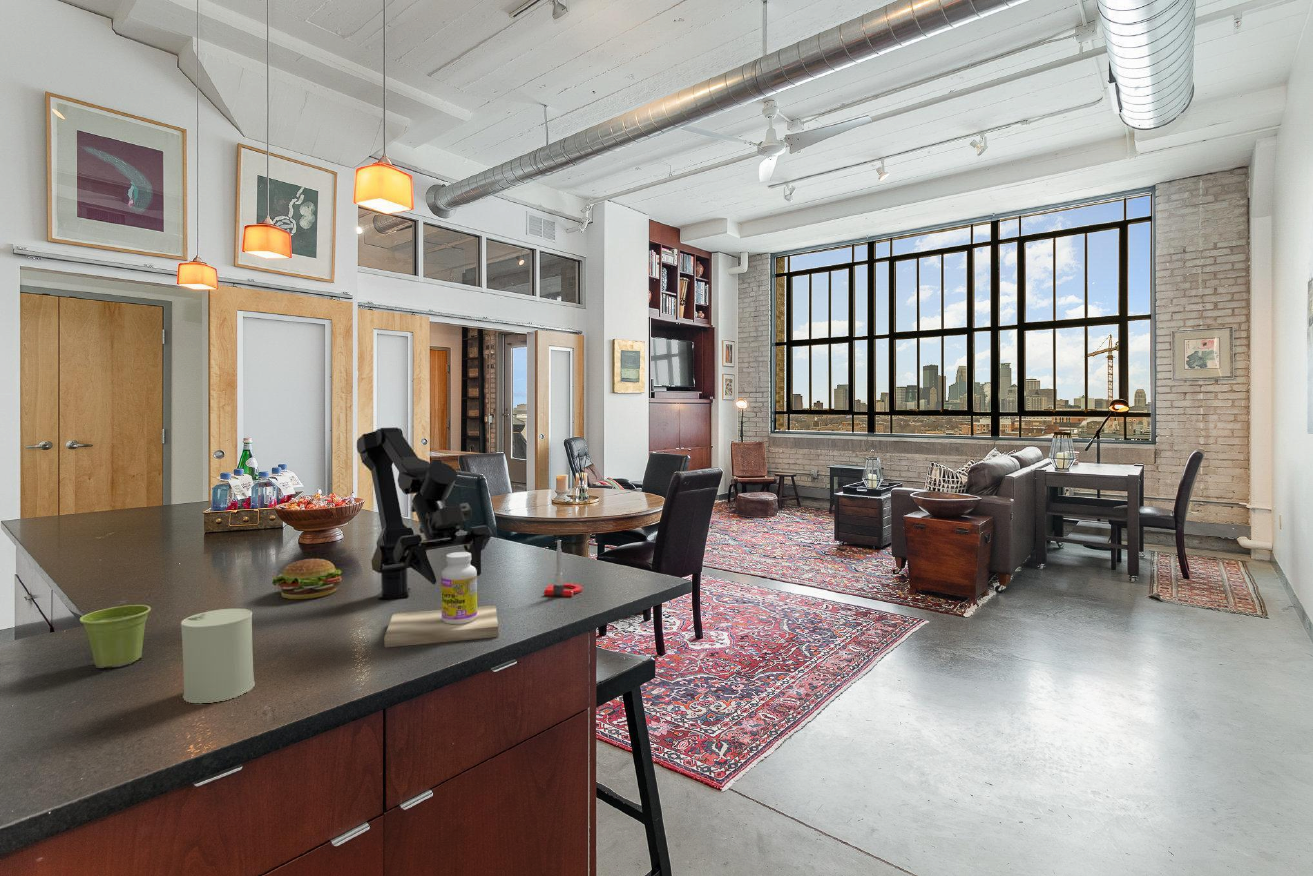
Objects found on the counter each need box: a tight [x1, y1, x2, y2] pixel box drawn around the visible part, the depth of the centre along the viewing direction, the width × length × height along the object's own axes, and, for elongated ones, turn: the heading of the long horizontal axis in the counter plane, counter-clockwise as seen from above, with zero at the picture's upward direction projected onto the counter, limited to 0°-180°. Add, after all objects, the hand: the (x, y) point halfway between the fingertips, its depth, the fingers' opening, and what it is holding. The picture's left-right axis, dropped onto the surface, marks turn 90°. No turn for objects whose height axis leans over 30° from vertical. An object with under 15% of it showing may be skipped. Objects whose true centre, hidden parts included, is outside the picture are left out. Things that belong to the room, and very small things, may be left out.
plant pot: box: [79, 604, 152, 666], centre depth 114 cm, size 9×9×9 cm
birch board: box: [383, 605, 499, 648], centre depth 130 cm, size 14×20×2 cm
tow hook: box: [543, 539, 583, 597], centre depth 157 cm, size 8×13×9 cm
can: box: [180, 608, 256, 704], centre depth 102 cm, size 9×9×12 cm
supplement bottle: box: [440, 551, 478, 624], centre depth 130 cm, size 7×7×13 cm
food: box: [271, 558, 343, 600], centre depth 157 cm, size 14×14×8 cm
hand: (457, 578), depth 130 cm, fingers open, 9 cm apart
